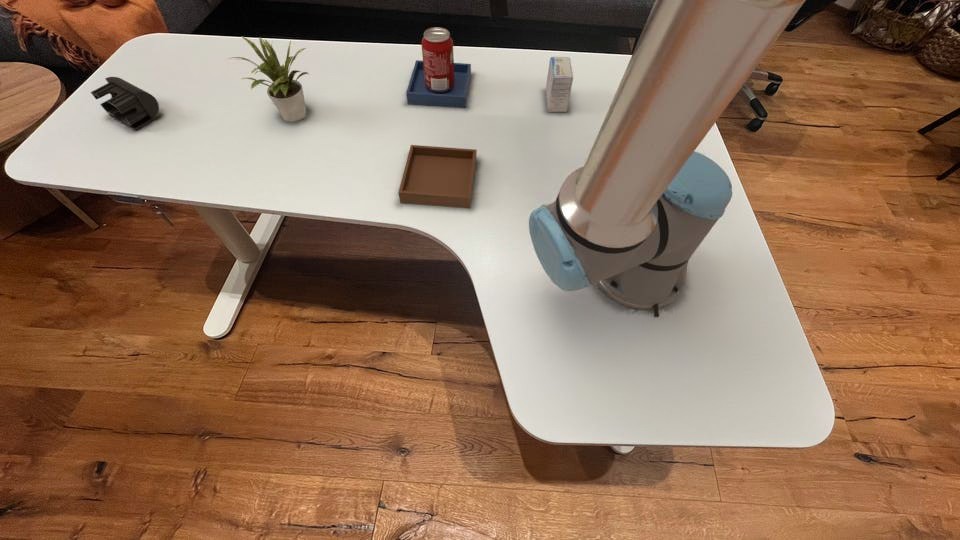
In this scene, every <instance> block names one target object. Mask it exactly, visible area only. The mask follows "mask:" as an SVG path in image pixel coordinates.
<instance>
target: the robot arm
mask: <svg viewBox="0 0 960 540" xmlns="http://www.w3.org/2000/svg"><path fill="white" fill-rule="evenodd" d="M806 1H807V0H655V2H654V3H653V6H652V9H651V10H650V13H649V15H648V18H647V20H646V22H645V25H644V27H643V29H642V31H641V33H640V36H639V39H638V41H637V43H636V45H635V48H634V50H633V52H632V54H631V57H630V60H629V62H628V64H627V67H626V68H625V71H624V73H623V75H622V78H621V80H620V82H619V84H618V87H617V90H616V91H615V94H614V96H613V98H612V101H611V103H610V105H609V108H608V109H607V112H606V115H605V117H604V119H603V122H602V124H601V126H600V128H599V131H598V133H597V135H596V138H595V139H594V142H593V145H592V147H591V149H590V151H589V154H588V156H587V159H586V161H585V163H584V166H581V167H579V168H577V169H575V170H573V171H572V172H571V173H570V174H568V176H567V177H566V178H565V179H564V180H563V182H562V184H561V186H560V189H559V191H558V193H557V196H556V198H555V200H554V201H553V202H552V203H549V204H547V205H546V204H542V205H540V206H539V207H537V208H535V209H534V210H532V211H531V213H530V215H529V218H528V232H529V235H530V240H531V243H532V246H533V249H534V252H535V255H536V257H537V259H538V261H539V263H540V265H541V267H542V269H543V270H544V272H545V274H546V275H547V276H548V278H549V279H550V281H551V282H552V283H553V284H554V285H555V286H557V287H558V288H559V289H560V290H562V291H565V292H567V293H568V292H569V293H570V292H571V293H572V292H576V291H579V290H583V289H589V288H591V286H593V285H597V288H599V289H600V291H601V292H602V293H603V294H605V296H607V297H608V298H609V299H610V300H612V301H614V302H616V303H617V304H619V305H621V306H623V307H626V308H630V309H633V310H637V311H638V310H639V311H653V315H654V318H659V317H660V311H659V309H661V308H664V307H666V306H667V305H670V304H671V303H672V302H673V301H675V299H676V298H677V297H678V296H679V295H680V294H681V291H682V290H683V288H684V285H685V283H686V281H687V273H688V267H689V266H688V265H689V260H690V259H691V258H692V256H693V255H694V253H695V252H696V251H697V249H698V248H699V247H700V245H701V243H703V241H704V240H705V238H707V236H708V234H709V233H710V232H711V230H712V229H713V228H714V226H715V225H716V223H717V222H718V221H719V219H720V218H722V217H723V216H724V214H725V211H726V208H727V206H728V205H729V204H730V202H731V199H732V197H733V185H732V182H731V179H730V177H729V175H728V174H727V173H726V171H725V170H724V169H723V168H722V167H721V166H720V165H719V164H718V163H716V162H715V161H714V160H713V159H711V158H710V157H708V156H706V155H705V154H702V153H700V152H698V151H696V150H697V148H698V147H699V145H700V144H701V143H702V141H703V140H704V139H705V137H706V136H707V134H708V133H709V132H710V130H711V129H712V128H713V126H714V125H715V124H716V123H717V121H718V120H719V118H720V117H721V115H722V114H723V113H724V111H726V109H727V108H728V106H729V105H730V103H731V102H732V101H733V99H734V98H735V97H736V95H737V94H738V93H739V92H740V90H741V89H742V87H744V84H745V83H746V82H747V80H748V79H749V78H750V76H751V75H752V74H753V72H754V71H755V69H757V67H758V66H759V64H760V63H761V61H762V60H763V59H764V57H765V56H766V55H767V53H768V52H769V51H770V49H771V48H772V47H773V45H774V44H775V43H776V42H777V40H778V38H779V37H780V36H781V35H782V33H783V32H784V31H785V29H786V28H787V26H788V25H789V24H790V22H791V21H792V20H793V18H795V16H796V15H797V13H798V12H799V11H800V9H801V7H802V6H803V4H805V2H806ZM487 2H488V9H489V16H490V17H489V18H490V20H491V21H493V20H497V19H502V18H504V17H508V16H509V7H508V6H509V5H508V0H488V1H487Z"/></svg>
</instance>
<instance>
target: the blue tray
mask: <svg viewBox="0 0 960 540" xmlns="http://www.w3.org/2000/svg"><path fill="white" fill-rule="evenodd" d="M471 76H472V64H471V63H464V62H463V63H462V62H454V86H453V87H452V88H451V89H450V90H448V91H445V92H435V91H431V90H429V89H428V88H427V87H426V85H425V77H424V66H423V60H418V59H417V60H416V59H415V62H414V66H413V69H412V72H411V75H410V79H409V83H408V86H407V89H406V92H405V94H406V102H407V105H413V106H414V105H416V106H429V107H430V106H431V107H444V108H457V109H459V108H460V109H466V107H467V101H468V95H469V89H470V84H471Z"/></svg>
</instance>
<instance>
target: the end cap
mask: <svg viewBox="0 0 960 540" xmlns="http://www.w3.org/2000/svg"><path fill="white" fill-rule="evenodd" d="M104 79H105V81H106V82H107V83H105V84H103V85H102V86H100V87H98V88H96V89H94V90H92V91H90V94H91V95H92V96H93V97H94V99H95V100H99V99H101V98H103V97H105V96H107V95H109V94H110V96H111V97H110V98H109V99H107V100H105V101H104V102H101V103H100V104H99V105H100V106H101V108H102V109H103V110H104V111H105V112H106V113H108V115H109V116H110V117H111V118H112V119H114V120H116V121H117V122H119V123H120V124H123V125H124V126H126V127H127V128H129V129H131V130H132V131H135V132H136V131H139V130H141V129H143V128H144V127H146V126H147V125H149V124H151V123H153V122H154V120H155V119H156V117H157V116H158V114H159V110H160V105H159V102H158V100H157V98H156V97H155V96H154V95H153V94H151V93H149V92H148V91H146V90H144V89H142V88H140V87H138V86H137V85H134V84H132V83H130V82H128V81H126V79H123V78H121V77H118V76H108V77H105V78H104Z"/></svg>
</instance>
